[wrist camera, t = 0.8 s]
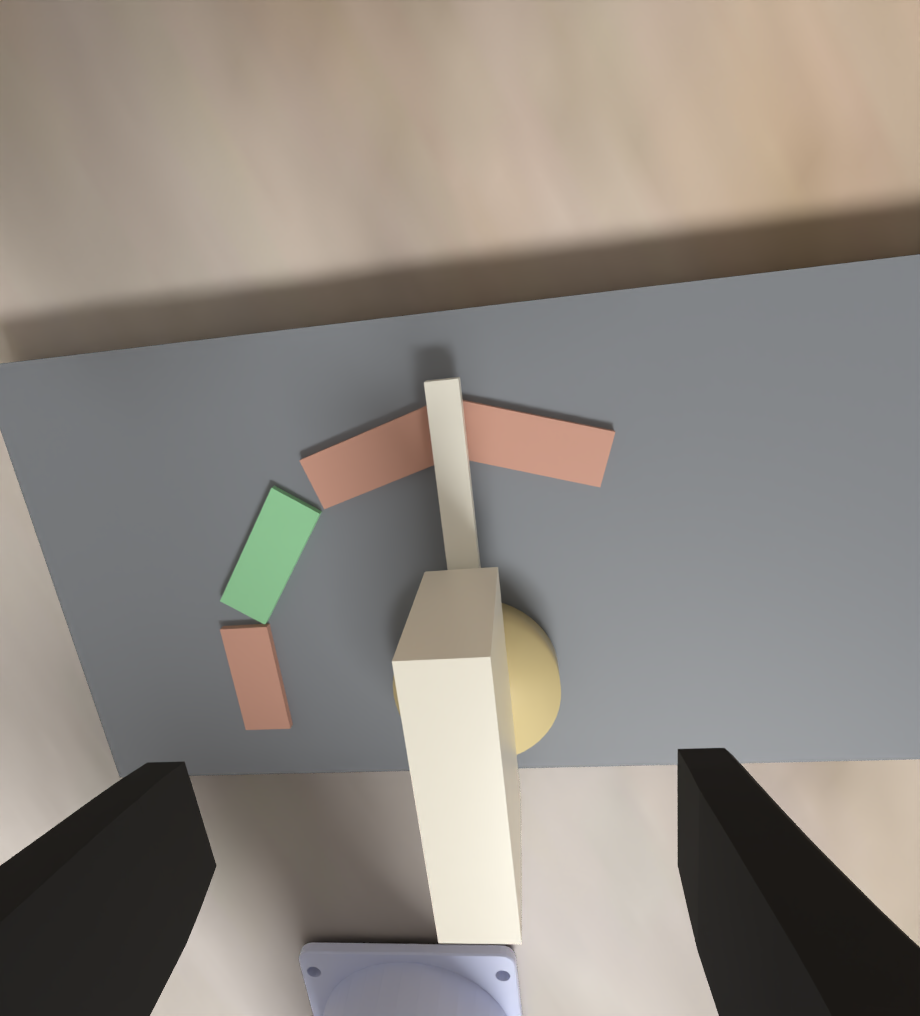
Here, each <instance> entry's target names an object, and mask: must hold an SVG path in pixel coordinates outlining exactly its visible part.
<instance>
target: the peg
mask: <svg viewBox="0 0 920 1016" xmlns="http://www.w3.org/2000/svg"><path fill="white" fill-rule="evenodd" d="M424 388H425V396H426V404H427V412H428V420H429V428H430V436H431V444H432V451H433V459H434V467H435V475H436V483H437V491H438V499H439V506H440V514H441V522H442V530H443V538H444V546H445V554H446V562H447V569H448V570H442V571H426V572H424V575H423V578H422V581H421V583H420V586H419V589H418V591H417V594H416V597H415V600H414V602H413V605H412V608H411V610H410V613H409V616H408V619H407V621H406V624H405V627H404V630H403V632H402V635H401V638H400V640H399V643H398V646H397V649H396V651H395V654H394V657H393V659H392V666H393V672H394V676H393V695H394V699H395V703H396V706H397V709H398V711H399V714H400V716H401V720H402V726H403V732H404V738H405V744H406V750H407V756H408V763H409V769H410V775H411V781H412V787H413V793H414V799H415V805H416V811H417V817H418V823H419V829H420V835H421V841H422V847H423V853H424V859H425V865H426V871H427V877H428V883H429V889H430V895H431V901H432V907H433V913H434V920H435V926H436V932H437V938H438V943H461V944H522V899H521V793H520V783H519V773H518V763H517V754H520V753H522V752H524V751H526V750H527V749H529V748H531V747H532V746H534V745H535V744H536V743H537V742H539V741H540V740H541V739H542V738H543V737H544V736H545V734H546V733H547V732H548V731H549V729H550V728H551V726H552V725H553V723H554V721H555V719H556V717H557V714H558V711H559V707H560V701H561V685H560V676H559V667H558V660H557V656H556V652H555V649H554V647H553V645H552V643H551V641H550V639H549V637H548V636H547V634H546V633H545V631H544V630H543V629H542V628H541V627H540V626H539V625H538V624H537V623H536V622H535V621H534V620H533V619H532V618H531V617H529V616H528V615H526V614H525V613H523V612H522V611H520V610H518V609H516V608H514V607H512V606H509V605H507V604H504V603H501V592H500V582H499V572H498V567H488V568H481V565H480V556H479V546H478V537H477V528H476V519H475V510H474V501H473V491H472V482H471V473H470V464H469V455H468V445H467V436H466V427H465V418H464V409H463V400H462V390H461V381H460V377H455V378H445V379H436V380H426V381H425V382H424Z"/></svg>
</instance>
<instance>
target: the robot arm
mask: <svg viewBox="0 0 920 1016" xmlns="http://www.w3.org/2000/svg"><path fill="white" fill-rule="evenodd" d="M215 868H216V863H215V860H214V857H213V853H212V850H211V847H210V843H209V840H208V837H207V834H206V830H205V827H204V824H203V820H202V817H201V814H200V811H199V807H198V804H197V801H196V797H195V794H194V791H193V787H192V784H191V781H190V778H189V774H188V771H187V768H186V764H185V761H183V762H147V763H146V764H144V765H143V766H141V767H139V768H138V769H136V770H135V771H133V772H132V773H130V774H129V775H127V776H126V777H124V778H123V779H121V780H120V781H118V782H117V783H115V784H114V785H112V786H111V787H109V788H108V789H107V790H105V791H104V792H102V793H101V794H100V795H98V796H97V797H95V798H94V799H92V800H91V801H90V802H88V803H87V804H85V805H84V806H83V807H81V808H80V809H79V810H77V811H76V812H74V813H73V814H72V815H70V816H69V817H67V818H66V819H65V820H63V821H62V822H60V823H59V824H58V825H56V826H55V827H54V828H52V829H51V830H49V831H48V832H47V833H45V834H44V835H42V836H41V837H40V838H38V839H37V840H35V841H34V842H33V843H31V844H30V845H29V846H27V847H26V848H24V849H23V850H22V851H20V852H19V853H17V854H16V855H15V856H13V857H12V858H10V859H9V860H8V861H6V862H5V863H3V864H2V865H1V866H0V1016H150V1014H151V1012H152V1010H153V1008H154V1006H155V1004H156V1003H157V1001H158V999H159V997H160V995H161V993H162V991H163V989H164V987H165V985H166V983H167V981H168V979H169V977H170V975H171V973H172V971H173V969H174V967H175V965H176V963H177V961H178V959H179V957H180V955H181V953H182V951H183V949H184V947H185V945H186V943H187V941H188V939H189V936H190V934H191V931H192V929H193V926H194V924H195V921H196V919H197V916H198V914H199V911H200V909H201V906H202V904H203V901H204V898H205V895H206V893H207V890H208V887H209V885H210V882H211V879H212V876H213V874H214V871H215ZM678 868H679V873H680V877H681V881H682V886H683V890H684V895H685V899H686V904H687V908H688V912H689V916H690V921H691V925H692V929H693V933H694V937H695V942H696V946H697V950H698V953H699V956H700V959H701V962H702V965H703V968H704V972H705V975H706V978H707V981H708V984H709V987H710V990H711V993H712V996H713V999H714V1002H715V1005H716V1008H717V1011H718V1014H719V1016H920V947H919V946H918V945H917V944H916V943H915V942H913V941H912V940H911V939H910V938H909V937H908V936H907V935H906V934H905V933H904V932H903V931H902V930H901V929H900V928H899V927H898V926H897V925H896V924H894V923H893V922H892V921H891V920H890V919H889V918H888V917H887V916H886V915H885V914H884V913H883V912H882V911H881V910H880V909H879V908H878V907H877V906H876V905H875V904H874V903H873V902H872V901H871V900H870V899H869V898H868V897H867V896H866V895H865V894H864V893H863V892H862V891H861V890H860V889H859V888H858V887H857V886H856V885H855V884H854V883H853V882H852V881H851V880H850V879H849V878H848V877H847V876H846V875H845V874H844V873H843V872H842V871H841V870H840V869H839V868H838V867H837V866H836V865H835V864H834V863H833V862H832V861H831V860H830V859H829V858H828V857H827V856H826V855H825V854H824V853H823V852H822V851H821V850H820V849H819V848H818V847H817V846H816V845H815V844H814V843H813V842H812V841H811V840H810V839H809V838H808V837H807V836H806V835H805V833H804V832H803V831H802V830H801V829H800V828H799V827H798V826H797V825H796V824H795V823H794V822H793V821H792V820H791V819H790V818H789V816H788V815H787V814H786V813H785V812H784V811H783V810H782V809H781V808H780V807H779V806H778V805H777V804H776V802H775V801H774V800H773V799H772V798H771V797H770V796H769V795H768V794H767V793H766V792H765V790H764V789H763V788H762V787H761V786H760V785H759V784H758V783H757V782H756V781H755V779H754V778H753V777H752V776H751V775H750V774H749V773H748V772H747V770H746V769H745V768H744V767H743V766H742V765H741V764H740V763H739V761H738V760H737V759H736V758H735V757H734V756H733V755H732V754H731V753H730V752H729V751H728V750H726V749H725V748H693V749H678ZM299 963H300V967H301V970H302V974H303V978H304V982H305V986H306V989H307V993H308V997H309V1001H310V1005H311V1008H312V1012H313V1016H523V1014H522V1006H521V997H520V988H519V979H518V971H517V962H516V955H515V952H514V951H513V950H512V949H511V948H509V947H507V946H504V945H463V944H391V943H319V942H312V943H307V944H305V945H304V946H303V947H302V949H301V952H300V955H299Z"/></svg>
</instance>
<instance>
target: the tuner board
mask: <svg viewBox="0 0 920 1016" xmlns="http://www.w3.org/2000/svg"><path fill="white" fill-rule="evenodd" d="M455 377H460V381H461V390H462V400H463V409H464V418H465V427H466V436H467V445H468V455H469V464H470V473H471V482H472V491H473V501H474V510H475V519H476V528H477V537H478V546H479V556H480V565H481V568H488V567H498V572H499V582H500V592H501V603H504V604H507V605H509V606H512V607H514V608H516V609H518V610H520V611H522V612H523V613H525V614H526V615H528V616H529V617H531V618H532V619H533V620H534V621H535V622H536V623H537V624H538V625H539V626H540V627H541V628H542V629H543V630H544V631H545V633H546V634H547V636H548V637H549V639H550V641H551V643H552V645H553V647H554V649H555V652H556V656H557V660H558V667H559V676H560V685H561V701H560V707H559V711H558V714H557V717H556V719H555V721H554V723H553V725H552V726H551V728H550V729H549V731H548V732H547V733H546V734H545V736H544V737H543V738H542V739H541V740H540V741H539V742H537V743H536V744H535V745H534V746H532V747H531V748H529V749H527V750H526V751H524V752H522V753H520V754H517V763H518V768H554V767H598V766H642V765H678V749H693V748H725V749H726V750H728V751H729V752H730V753H731V754H732V755H733V756H734V757H735V758H736V759H737V760H738V761H739V763H774V762H818V761H862V760H906V759H920V254H918V255H910V256H901V257H893V258H884V259H876V260H868V261H859V262H851V263H842V264H834V265H826V266H817V267H809V268H800V269H792V270H784V271H775V272H767V273H758V274H750V275H742V276H733V277H725V278H716V279H708V280H699V281H691V282H683V283H674V284H666V285H657V286H649V287H641V288H632V289H624V290H615V291H607V292H599V293H590V294H582V295H573V296H565V297H557V298H548V299H540V300H531V301H523V302H515V303H506V304H498V305H489V306H481V307H473V308H464V309H456V310H447V311H439V312H431V313H422V314H414V315H405V316H397V317H389V318H380V319H372V320H363V321H355V322H347V323H338V324H330V325H321V326H313V327H305V328H296V329H288V330H279V331H271V332H263V333H254V334H246V335H237V336H229V337H221V338H212V339H204V340H195V341H187V342H179V343H170V344H162V345H153V346H145V347H137V348H128V349H120V350H111V351H103V352H95V353H86V354H78V355H69V356H61V357H53V358H44V359H36V360H27V361H19V362H11V363H2V364H0V430H1V433H2V436H3V439H4V441H5V444H6V447H7V450H8V453H9V456H10V459H11V462H12V465H13V468H14V471H15V473H16V476H17V479H18V482H19V485H20V488H21V491H22V494H23V497H24V500H25V503H26V505H27V508H28V511H29V514H30V517H31V520H32V523H33V526H34V529H35V532H36V535H37V537H38V540H39V543H40V546H41V549H42V552H43V555H44V558H45V561H46V564H47V567H48V569H49V572H50V575H51V578H52V581H53V584H54V587H55V590H56V593H57V596H58V599H59V601H60V604H61V607H62V610H63V613H64V616H65V619H66V622H67V625H68V628H69V631H70V633H71V636H72V639H73V642H74V645H75V648H76V651H77V654H78V657H79V660H80V663H81V665H82V668H83V671H84V674H85V677H86V680H87V683H88V686H89V689H90V692H91V695H92V697H93V700H94V703H95V706H96V709H97V712H98V715H99V718H100V721H101V724H102V727H103V729H104V732H105V735H106V738H107V741H108V744H109V747H110V750H111V753H112V756H113V759H114V761H115V764H116V767H117V770H118V773H119V776H120V777H126V776H127V775H129V774H130V773H132V772H133V771H135V770H136V769H138V768H139V767H141V766H143V765H144V764H146V763H147V762H183V761H185V764H186V768H187V771H188V774H189V776H201V775H245V774H289V773H333V772H378V771H410V769H409V763H408V756H407V750H406V744H405V738H404V732H403V726H402V720H401V716H400V714H399V711H398V709H397V706H396V703H395V699H394V695H393V676H394V672H393V666H392V659H393V657H394V654H395V651H396V649H397V646H398V643H399V640H400V638H401V635H402V632H403V630H404V627H405V624H406V621H407V619H408V616H409V613H410V610H411V608H412V605H413V602H414V600H415V597H416V594H417V591H418V589H419V586H420V583H421V581H422V578H423V575H424V572H426V571H442V570H448V569H447V562H446V554H445V546H444V538H443V530H442V522H441V514H440V506H439V499H438V491H437V483H436V475H435V467H434V459H433V451H432V444H431V436H430V428H429V420H428V412H427V404H426V396H425V388H424V382H425V381H426V380H436V379H445V378H455Z"/></svg>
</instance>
